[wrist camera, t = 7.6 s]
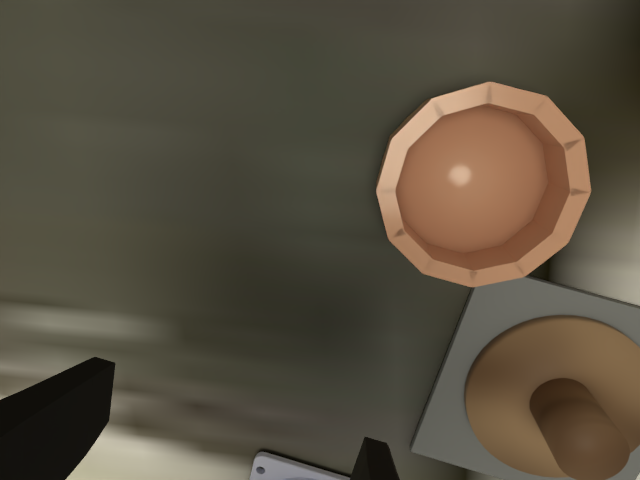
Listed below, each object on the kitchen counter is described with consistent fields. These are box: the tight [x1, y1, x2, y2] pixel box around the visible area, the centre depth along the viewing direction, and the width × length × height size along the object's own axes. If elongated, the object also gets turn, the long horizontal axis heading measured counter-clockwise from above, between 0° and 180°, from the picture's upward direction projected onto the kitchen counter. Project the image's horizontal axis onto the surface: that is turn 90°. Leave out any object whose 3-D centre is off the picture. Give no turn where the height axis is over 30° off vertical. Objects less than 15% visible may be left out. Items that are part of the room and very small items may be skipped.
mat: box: [410, 275, 640, 480], centre depth 22 cm, size 11×11×1 cm
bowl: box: [376, 82, 591, 287], centre depth 18 cm, size 8×8×3 cm
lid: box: [464, 315, 640, 480], centre depth 20 cm, size 9×9×4 cm
